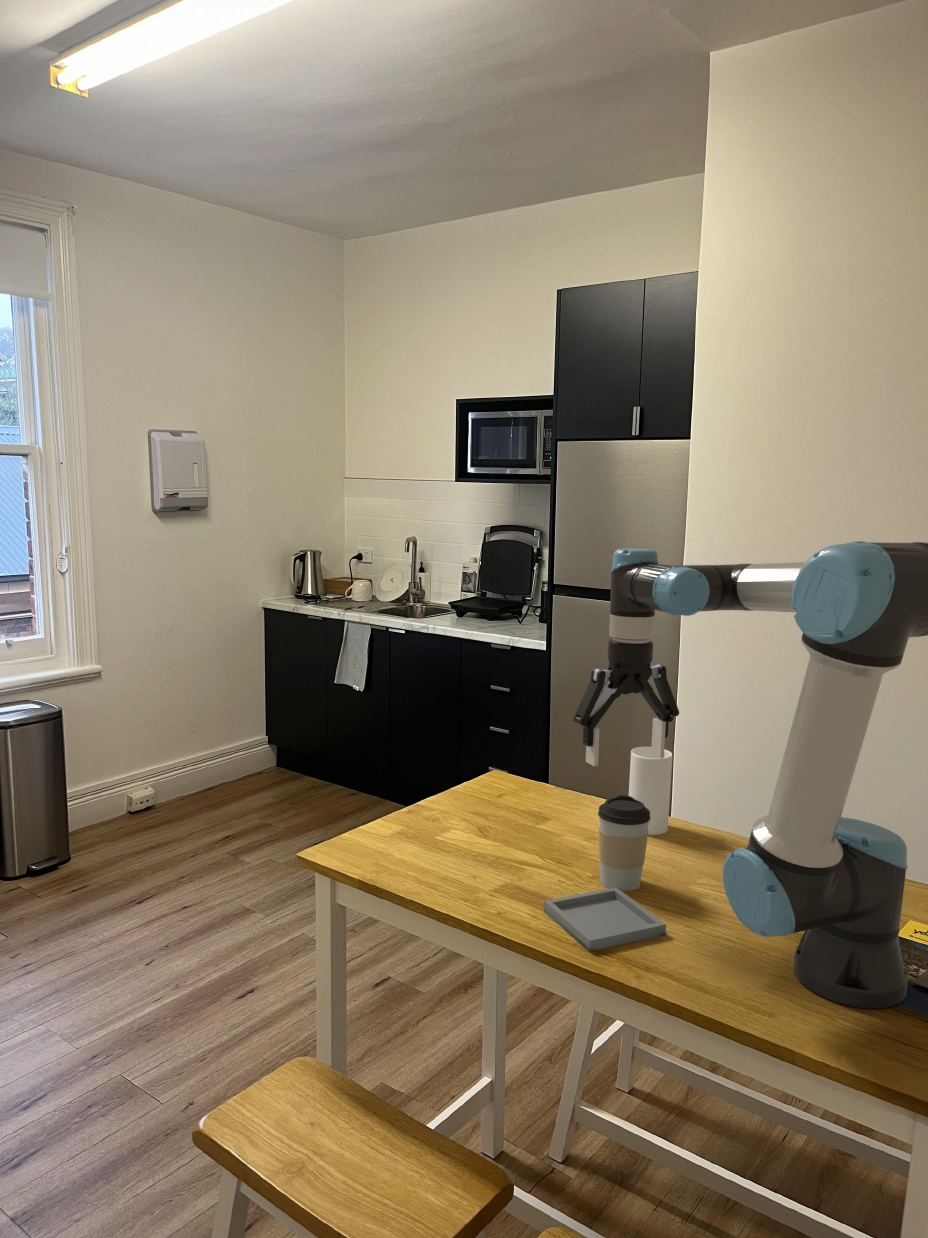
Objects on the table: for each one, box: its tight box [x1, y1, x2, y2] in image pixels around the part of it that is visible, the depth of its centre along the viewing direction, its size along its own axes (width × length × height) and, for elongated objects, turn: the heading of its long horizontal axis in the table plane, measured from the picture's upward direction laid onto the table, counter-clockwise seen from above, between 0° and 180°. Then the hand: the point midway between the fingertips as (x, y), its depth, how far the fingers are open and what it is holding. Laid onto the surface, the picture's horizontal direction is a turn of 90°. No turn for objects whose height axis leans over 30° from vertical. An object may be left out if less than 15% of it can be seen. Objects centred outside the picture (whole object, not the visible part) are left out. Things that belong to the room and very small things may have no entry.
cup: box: [628, 746, 673, 836], centre depth 186 cm, size 8×8×16 cm
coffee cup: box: [597, 794, 650, 892], centre depth 160 cm, size 9×9×15 cm
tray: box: [543, 887, 667, 953], centre depth 146 cm, size 14×14×2 cm
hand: (625, 760), depth 158 cm, fingers open, 13 cm apart
